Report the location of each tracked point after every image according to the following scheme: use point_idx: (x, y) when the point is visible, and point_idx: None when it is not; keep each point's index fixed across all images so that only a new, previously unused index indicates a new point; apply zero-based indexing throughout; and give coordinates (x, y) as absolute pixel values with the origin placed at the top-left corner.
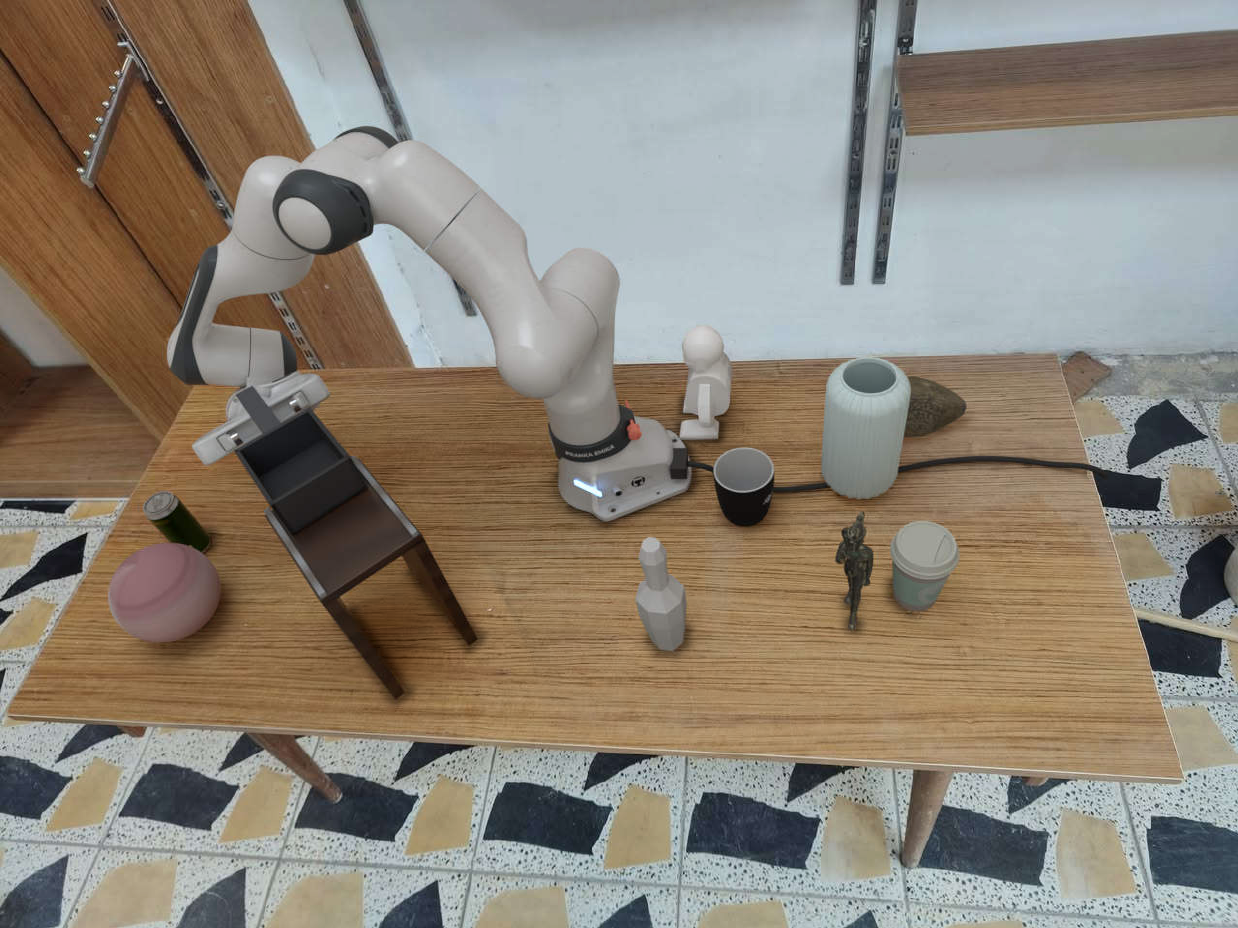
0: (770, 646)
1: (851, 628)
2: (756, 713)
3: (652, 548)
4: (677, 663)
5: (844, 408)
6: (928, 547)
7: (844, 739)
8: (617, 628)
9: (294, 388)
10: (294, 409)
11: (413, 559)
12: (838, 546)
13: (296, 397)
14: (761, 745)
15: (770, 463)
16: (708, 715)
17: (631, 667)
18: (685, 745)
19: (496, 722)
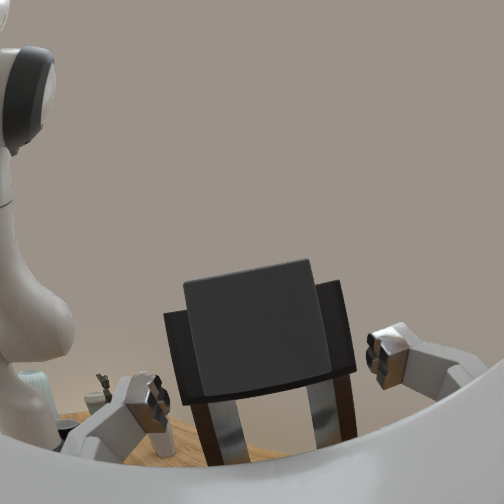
0: (148, 437)
1: None
2: (179, 430)
3: (145, 371)
4: (177, 447)
5: (43, 379)
6: (95, 394)
7: (171, 420)
8: (177, 464)
9: (51, 456)
10: (164, 392)
11: (237, 439)
12: (106, 393)
13: (120, 386)
14: (189, 425)
15: (57, 420)
16: (191, 434)
17: (193, 452)
18: None
19: (273, 456)
